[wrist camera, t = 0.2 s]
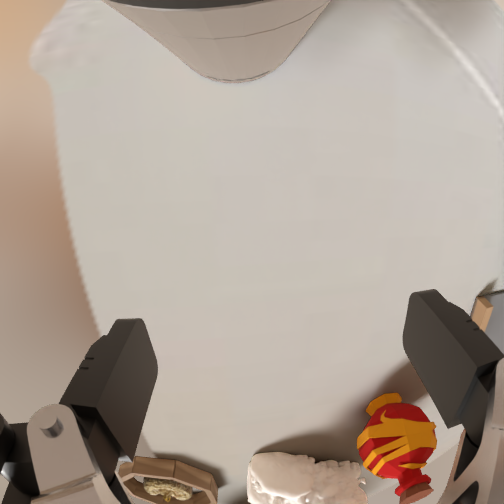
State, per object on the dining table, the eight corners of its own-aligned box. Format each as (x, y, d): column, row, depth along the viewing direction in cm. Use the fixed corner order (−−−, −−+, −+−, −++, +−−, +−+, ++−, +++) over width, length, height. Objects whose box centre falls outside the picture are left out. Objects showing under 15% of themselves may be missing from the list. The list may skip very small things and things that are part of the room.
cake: (139, 460, 44) (133, 483, 39) (195, 468, 44) (193, 492, 39) (147, 484, 47) (142, 505, 42) (197, 491, 48) (195, 513, 43)
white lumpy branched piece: (209, 494, 30) (352, 557, 22) (285, 397, 46) (400, 442, 37) (214, 523, 39) (316, 569, 30) (272, 449, 54) (361, 486, 46)
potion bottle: (431, 387, 36) (472, 471, 22) (382, 430, 39) (408, 512, 26) (383, 370, 33) (427, 474, 20) (331, 419, 37) (352, 517, 23)
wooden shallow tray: (476, 297, 30) (489, 311, 27) (537, 283, 30) (550, 294, 27) (436, 399, 37) (444, 413, 34) (497, 378, 37) (505, 390, 34)
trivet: (109, 452, 42) (104, 468, 38) (206, 461, 41) (205, 479, 38) (141, 490, 49) (138, 503, 45) (221, 496, 48) (221, 511, 45)
